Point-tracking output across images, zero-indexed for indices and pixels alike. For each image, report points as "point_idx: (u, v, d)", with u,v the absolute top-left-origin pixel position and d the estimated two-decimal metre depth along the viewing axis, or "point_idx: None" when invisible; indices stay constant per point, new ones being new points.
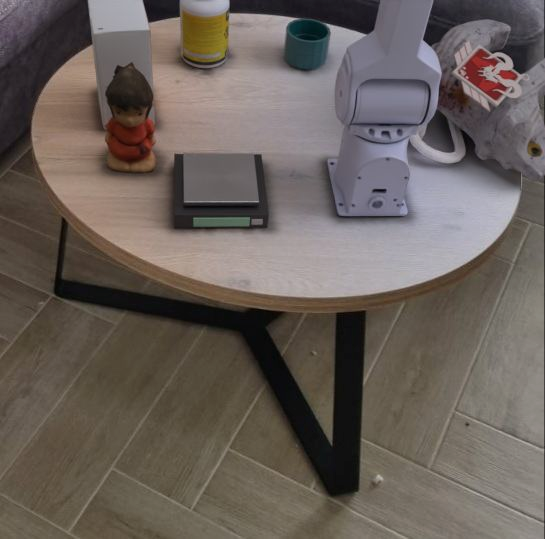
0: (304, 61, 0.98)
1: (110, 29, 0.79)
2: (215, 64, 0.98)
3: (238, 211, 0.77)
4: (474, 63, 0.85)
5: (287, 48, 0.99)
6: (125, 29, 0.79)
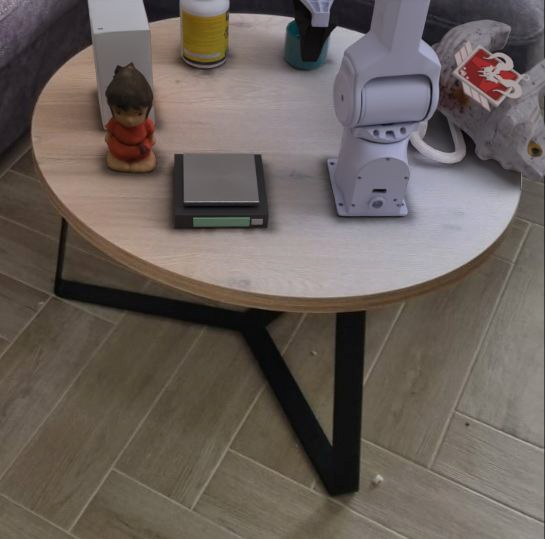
0: None
1: (110, 29, 0.79)
2: (215, 64, 0.98)
3: (238, 211, 0.77)
4: (474, 63, 0.85)
5: (287, 48, 0.99)
6: (125, 29, 0.79)
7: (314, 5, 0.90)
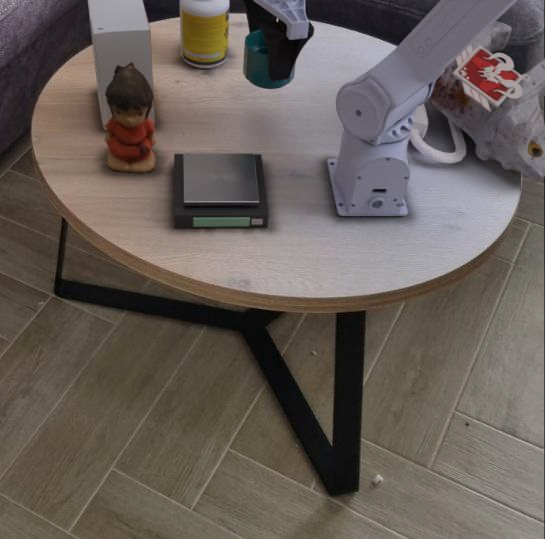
0: None
1: (110, 30, 0.79)
2: (215, 64, 0.98)
3: (238, 211, 0.77)
4: (475, 63, 0.85)
5: (250, 67, 0.83)
6: (125, 29, 0.79)
7: (286, 14, 0.75)
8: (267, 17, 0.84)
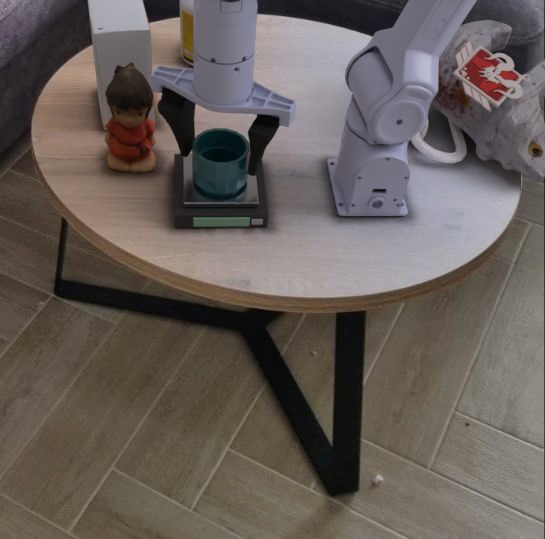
0: (244, 178, 0.78)
1: (110, 29, 0.79)
2: None
3: (238, 211, 0.77)
4: (475, 63, 0.85)
5: (221, 180, 0.76)
6: (125, 29, 0.79)
7: (267, 106, 0.70)
8: (190, 120, 0.76)
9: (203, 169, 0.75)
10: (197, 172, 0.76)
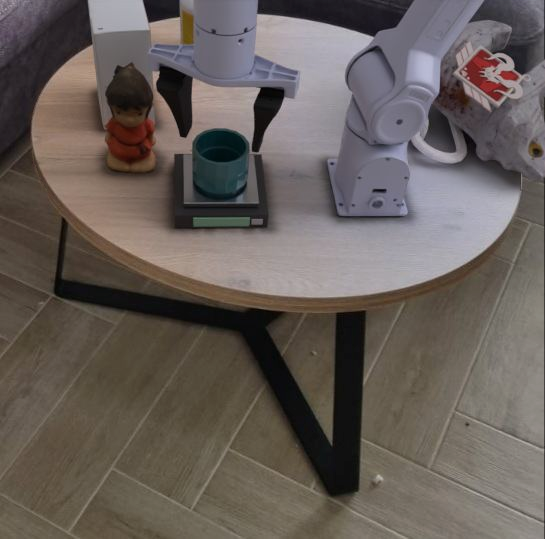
0: (244, 178, 0.78)
1: (110, 30, 0.79)
2: None
3: (238, 211, 0.77)
4: (475, 64, 0.85)
5: (221, 180, 0.76)
6: (125, 29, 0.79)
7: (272, 78, 0.68)
8: (188, 98, 0.73)
9: (203, 169, 0.75)
10: (197, 172, 0.76)
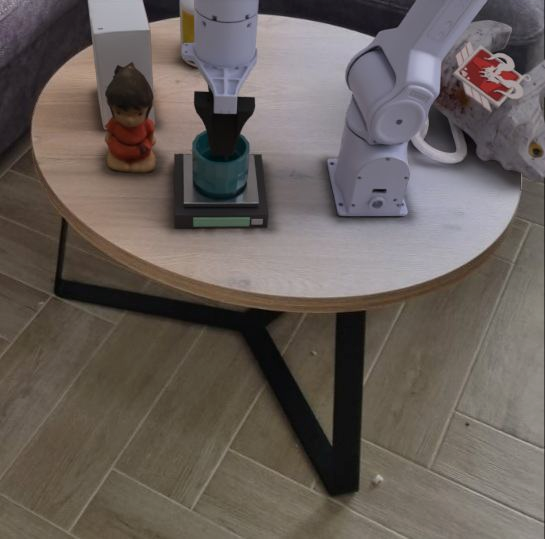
0: (244, 178, 0.78)
1: (110, 30, 0.79)
2: None
3: (238, 211, 0.77)
4: (475, 64, 0.85)
5: (221, 180, 0.76)
6: (125, 29, 0.79)
7: None
8: None
9: (203, 169, 0.75)
10: (197, 172, 0.76)
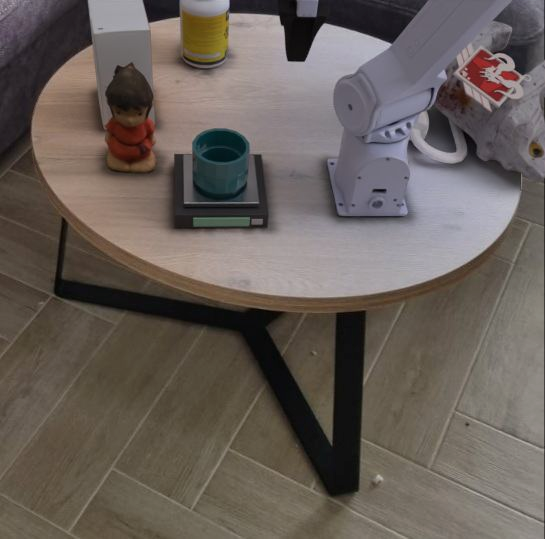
0: (244, 178, 0.78)
1: (110, 30, 0.79)
2: (215, 64, 0.98)
3: (238, 211, 0.77)
4: (476, 64, 0.85)
5: (221, 180, 0.76)
6: (125, 29, 0.79)
7: None
8: None
9: (203, 169, 0.75)
10: (197, 172, 0.76)
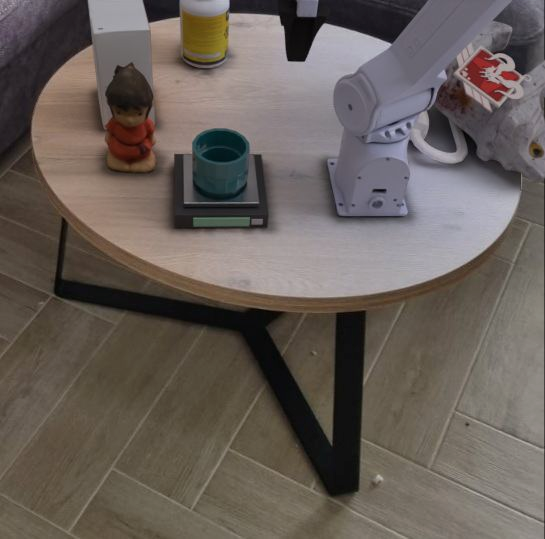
0: (244, 178, 0.78)
1: (110, 29, 0.79)
2: (215, 64, 0.98)
3: (238, 211, 0.77)
4: (476, 64, 0.85)
5: (221, 180, 0.76)
6: (125, 29, 0.79)
7: None
8: None
9: (203, 169, 0.75)
10: (197, 172, 0.76)
